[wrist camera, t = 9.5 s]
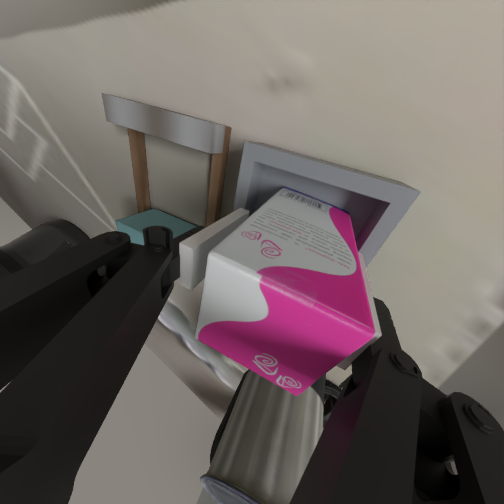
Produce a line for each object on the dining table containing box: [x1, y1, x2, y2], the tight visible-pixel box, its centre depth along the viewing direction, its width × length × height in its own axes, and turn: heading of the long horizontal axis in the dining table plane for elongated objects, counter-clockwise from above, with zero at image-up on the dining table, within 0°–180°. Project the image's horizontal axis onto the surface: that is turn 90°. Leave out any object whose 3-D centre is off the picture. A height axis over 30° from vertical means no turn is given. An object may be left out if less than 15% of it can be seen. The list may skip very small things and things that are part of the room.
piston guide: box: [102, 93, 231, 227], centre depth 20 cm, size 11×16×3 cm
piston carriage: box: [116, 209, 197, 245], centre depth 22 cm, size 7×5×5 cm
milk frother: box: [200, 369, 341, 504], centre depth 20 cm, size 14×16×15 cm
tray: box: [233, 141, 421, 267], centre depth 16 cm, size 11×11×4 cm
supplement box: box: [195, 186, 376, 396], centre depth 12 cm, size 6×6×12 cm
